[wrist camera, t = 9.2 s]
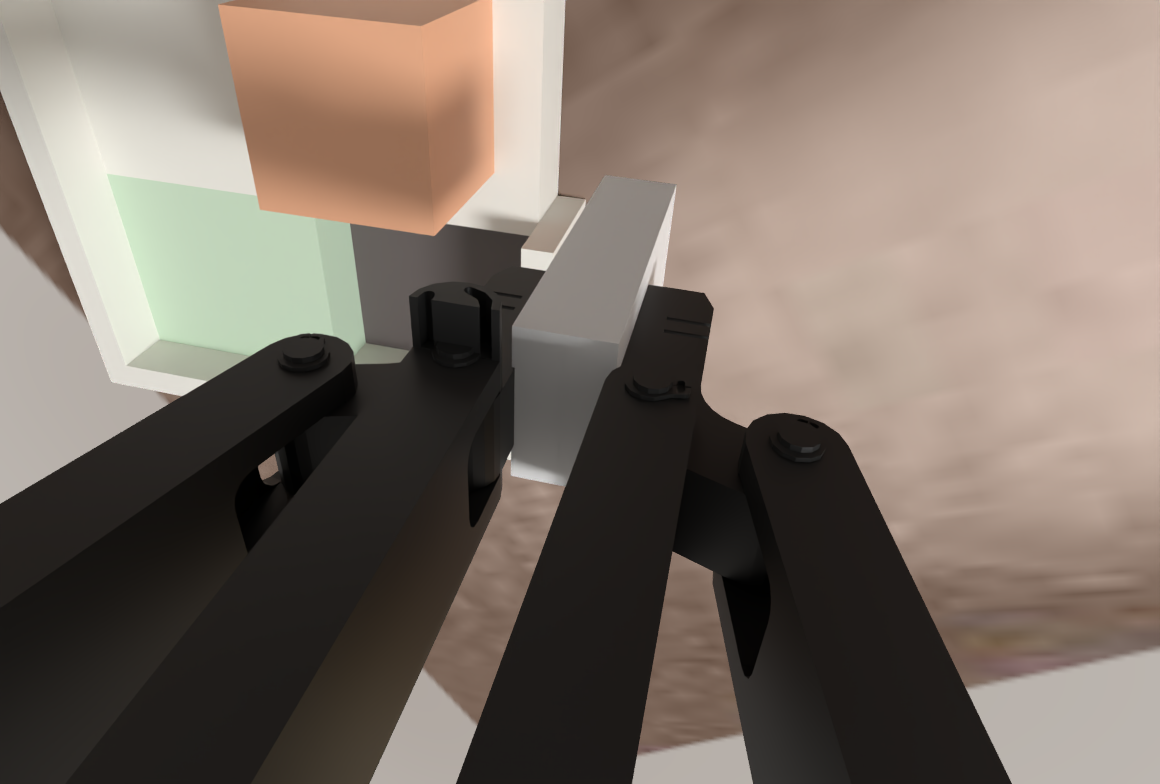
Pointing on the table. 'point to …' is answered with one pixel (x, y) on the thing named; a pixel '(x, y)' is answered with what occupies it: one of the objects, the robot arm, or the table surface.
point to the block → (365, 106)
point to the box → (246, 191)
